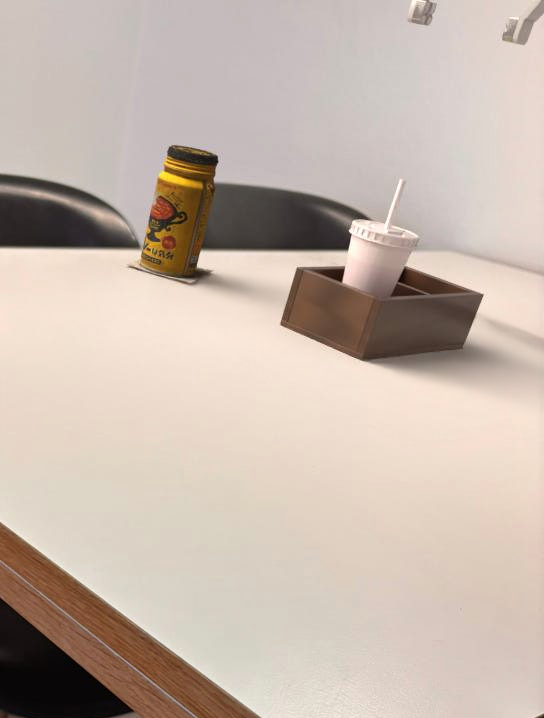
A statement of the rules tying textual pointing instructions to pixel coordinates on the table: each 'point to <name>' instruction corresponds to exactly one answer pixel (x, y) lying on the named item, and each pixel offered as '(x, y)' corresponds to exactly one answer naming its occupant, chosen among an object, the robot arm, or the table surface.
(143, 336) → the table surface
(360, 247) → the smoothie
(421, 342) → the box
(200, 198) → the condiment
